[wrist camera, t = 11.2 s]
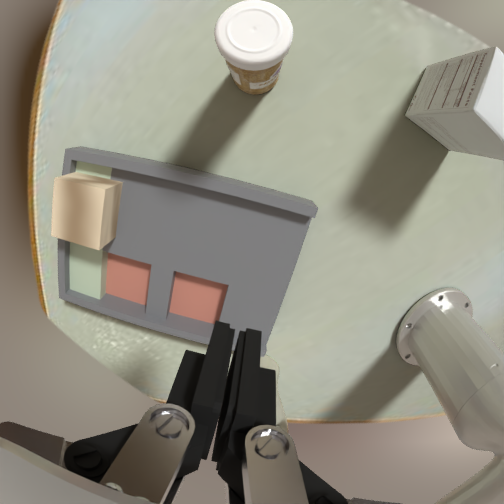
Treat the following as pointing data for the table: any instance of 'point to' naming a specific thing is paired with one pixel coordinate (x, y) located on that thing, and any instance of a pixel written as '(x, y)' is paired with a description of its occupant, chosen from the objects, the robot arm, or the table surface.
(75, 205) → the maple block
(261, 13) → the sprinkles bottle
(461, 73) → the supplement box
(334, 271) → the table surface
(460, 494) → the robot arm
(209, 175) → the box
